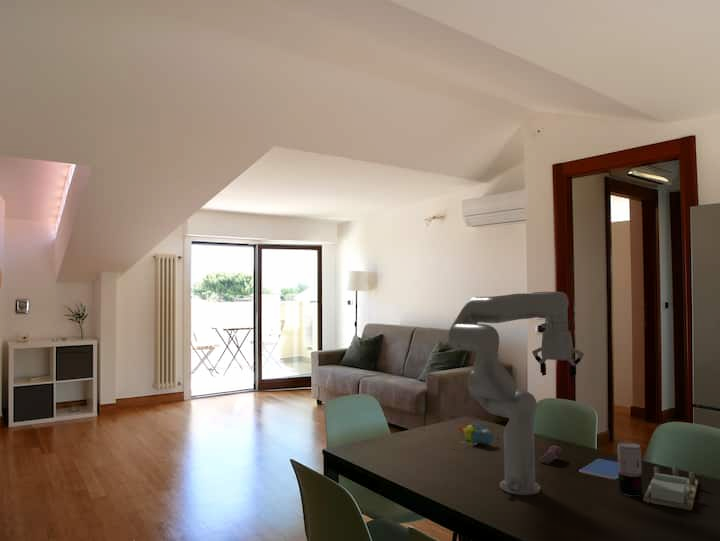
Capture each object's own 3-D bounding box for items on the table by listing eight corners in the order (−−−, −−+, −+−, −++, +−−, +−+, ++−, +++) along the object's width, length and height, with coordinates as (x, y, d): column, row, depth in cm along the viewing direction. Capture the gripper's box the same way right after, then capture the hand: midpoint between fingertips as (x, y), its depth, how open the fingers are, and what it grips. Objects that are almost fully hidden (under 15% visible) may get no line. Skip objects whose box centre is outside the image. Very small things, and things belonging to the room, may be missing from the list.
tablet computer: (598, 461, 204) (598, 457, 204) (634, 468, 195) (634, 464, 195) (578, 473, 190) (577, 470, 190) (615, 482, 181) (615, 478, 181)
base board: (691, 510, 155) (691, 493, 156) (643, 501, 163) (642, 485, 163) (698, 483, 177) (697, 468, 178) (655, 476, 185) (654, 462, 185)
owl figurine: (484, 416, 242) (512, 423, 230) (484, 435, 242) (512, 443, 230) (439, 425, 226) (467, 433, 213) (439, 446, 225) (467, 455, 213)
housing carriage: (683, 503, 157) (682, 487, 157) (651, 497, 162) (650, 482, 162) (686, 493, 165) (685, 477, 165) (655, 487, 170) (654, 472, 170)
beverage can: (635, 489, 172) (633, 441, 173) (646, 497, 166) (644, 447, 167) (614, 489, 172) (613, 442, 173) (625, 497, 166) (624, 448, 166)
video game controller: (548, 469, 198) (556, 453, 197) (537, 461, 201) (545, 445, 199) (557, 462, 206) (565, 447, 205) (546, 455, 209) (554, 439, 207)
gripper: (529, 327, 192) (530, 375, 191) (580, 328, 183) (582, 379, 182) (534, 326, 198) (535, 373, 198) (584, 327, 189) (586, 376, 188)
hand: (558, 376), depth 190 cm, fingers open, 9 cm apart
